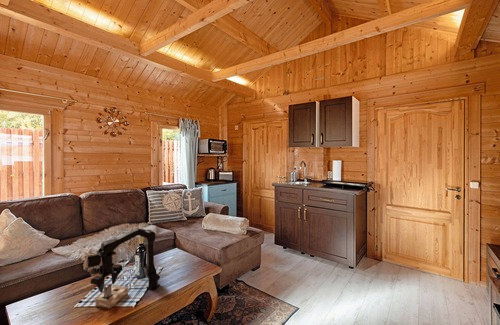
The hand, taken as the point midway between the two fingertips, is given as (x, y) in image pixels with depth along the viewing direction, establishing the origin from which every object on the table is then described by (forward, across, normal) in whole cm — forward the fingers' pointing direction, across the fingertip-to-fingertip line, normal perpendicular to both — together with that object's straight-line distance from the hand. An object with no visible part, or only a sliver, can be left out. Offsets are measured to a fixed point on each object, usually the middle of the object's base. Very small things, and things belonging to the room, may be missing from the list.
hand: (107, 288), depth 147 cm
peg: (+9, 0, 0) cm, 9 cm away
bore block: (+10, -4, 0) cm, 10 cm away
